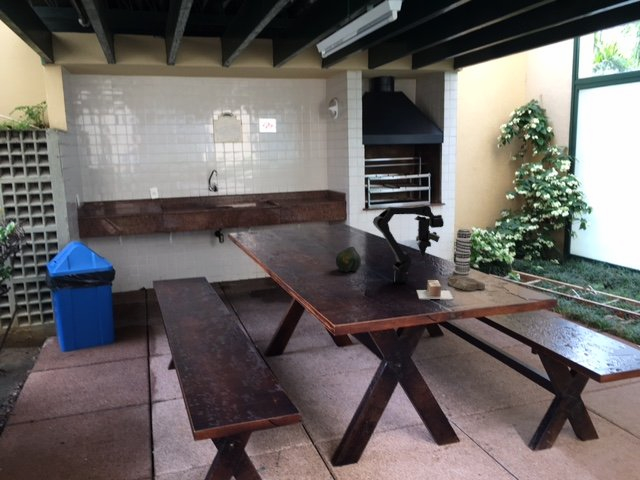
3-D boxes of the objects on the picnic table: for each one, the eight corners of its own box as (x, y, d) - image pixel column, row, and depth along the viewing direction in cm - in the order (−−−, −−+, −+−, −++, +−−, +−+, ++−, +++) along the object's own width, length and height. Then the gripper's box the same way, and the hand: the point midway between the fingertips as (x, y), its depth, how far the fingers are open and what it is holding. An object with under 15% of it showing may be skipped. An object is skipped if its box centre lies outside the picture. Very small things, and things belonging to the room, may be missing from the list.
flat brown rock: (441, 283, 284) (462, 292, 265) (441, 274, 283) (463, 282, 264) (464, 281, 288) (486, 290, 269) (464, 272, 287) (487, 280, 269)
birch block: (427, 289, 268) (430, 296, 256) (427, 280, 267) (430, 286, 255) (437, 289, 267) (440, 296, 255) (437, 280, 266) (441, 286, 254)
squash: (327, 262, 309) (343, 244, 302) (338, 258, 322) (354, 241, 316) (343, 280, 305) (360, 262, 299) (354, 275, 318) (370, 258, 312)
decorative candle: (471, 274, 300) (473, 230, 295) (454, 273, 301) (456, 230, 297) (470, 270, 308) (472, 228, 304) (453, 270, 310) (455, 227, 306)
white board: (419, 299, 253) (419, 298, 253) (416, 291, 267) (416, 290, 267) (453, 299, 252) (453, 298, 252) (448, 291, 266) (449, 290, 265)
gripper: (441, 231, 273) (440, 260, 276) (436, 225, 292) (435, 253, 294) (419, 231, 274) (418, 260, 277) (416, 225, 293) (415, 253, 295)
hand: (422, 256), depth 286 cm, fingers closed
